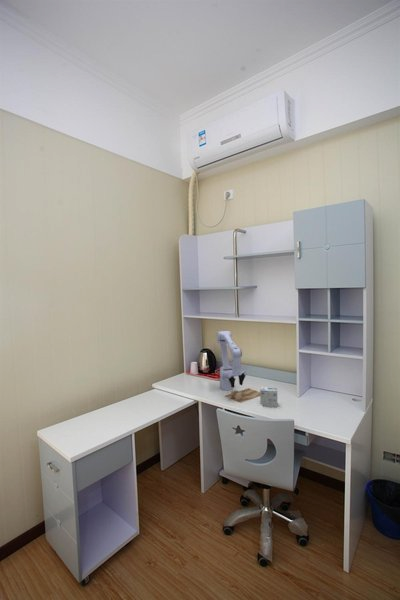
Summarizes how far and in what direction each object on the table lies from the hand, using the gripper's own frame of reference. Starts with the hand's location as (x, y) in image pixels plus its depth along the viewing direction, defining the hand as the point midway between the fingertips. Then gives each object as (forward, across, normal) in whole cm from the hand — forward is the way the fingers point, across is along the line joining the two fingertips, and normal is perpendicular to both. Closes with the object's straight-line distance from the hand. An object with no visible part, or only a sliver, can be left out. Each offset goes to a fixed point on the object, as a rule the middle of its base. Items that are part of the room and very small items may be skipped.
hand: (236, 386), depth 206 cm
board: (+9, +8, 0) cm, 12 cm away
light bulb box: (+10, +10, -20) cm, 24 cm away
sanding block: (+8, 0, 0) cm, 8 cm away
